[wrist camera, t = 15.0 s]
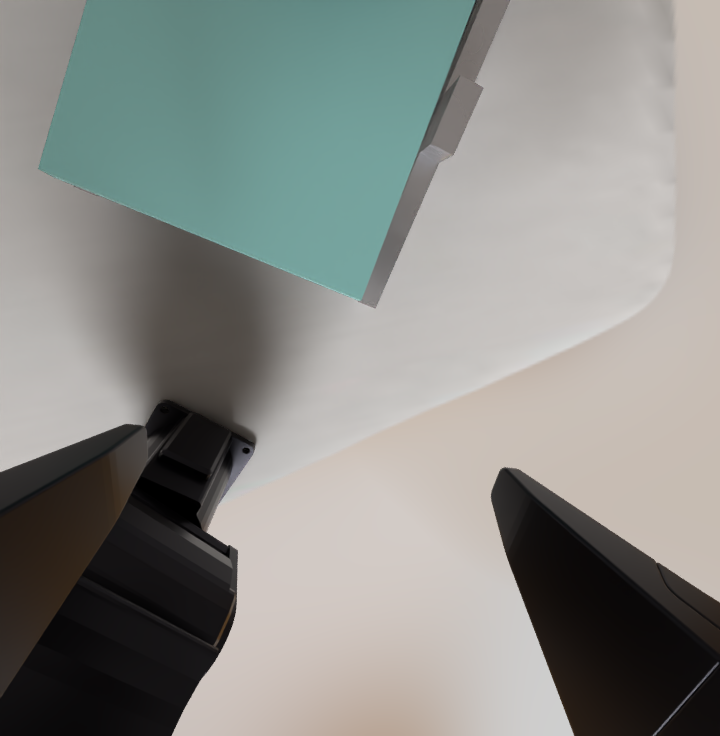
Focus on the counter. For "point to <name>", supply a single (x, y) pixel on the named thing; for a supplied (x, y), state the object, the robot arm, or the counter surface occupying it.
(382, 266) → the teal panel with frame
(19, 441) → the counter surface
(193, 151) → the trapdoor
